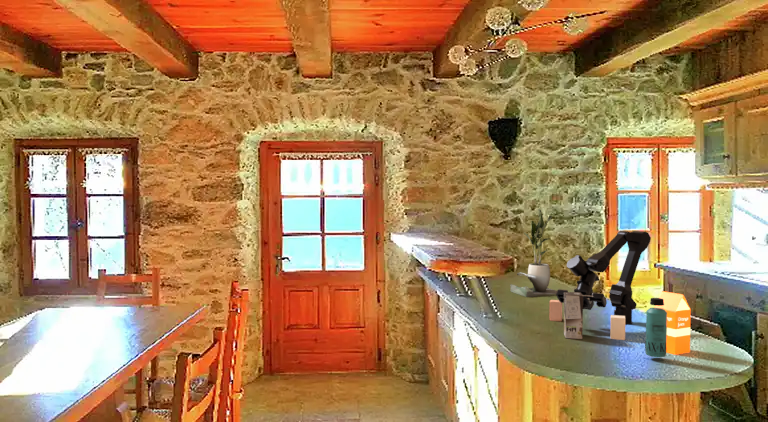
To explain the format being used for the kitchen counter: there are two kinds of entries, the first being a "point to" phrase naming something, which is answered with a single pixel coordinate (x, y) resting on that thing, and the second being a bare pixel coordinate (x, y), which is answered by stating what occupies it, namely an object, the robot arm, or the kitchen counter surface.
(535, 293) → the potted plant
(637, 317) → the kitchen counter surface
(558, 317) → the terracotta block
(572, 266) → the robot arm
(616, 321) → the cream block
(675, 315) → the orange juice
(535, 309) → the kitchen counter surface
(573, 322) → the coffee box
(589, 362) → the kitchen counter surface
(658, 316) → the beverage bottle
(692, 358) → the kitchen counter surface
